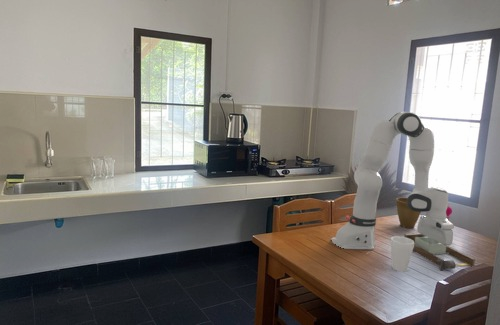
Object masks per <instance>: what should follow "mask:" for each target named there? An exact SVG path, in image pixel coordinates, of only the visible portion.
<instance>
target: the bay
mask: <svg viewBox="0 0 500 325" xmlns="http://www.w3.org/2000/svg"><path fill="white" fill-rule="evenodd" d="M403 237H406V238H409V239H411V240H413V241H414V248H413V251H412V252H414V253H416V254H418V255H419V256H421V257H423V258H425V259H427V261H430V262H432V263H433V264H435V265H437V266H439V267H440V268H439V270H440V271H444V270H453V269H456V267H464V266H473V267H474V266H475V262H476V259H475V258H474V257H472V256H470V255H468V254H465V253H463V252H462V251H458V250H457V249H455V248H453V247H451V246H450V245H446V252H445V254H448V255H450V256H453V257H454V258H457V259H459V260H460V261H462V263H456V262H455V261H454V260H453V259H450V260H444V259H442V258H440V257H439V256H436V254H434V255H433V254H431V253H429V252H428V251H426V250H424V249H422V248H420V247H418V246H417V245H415V237H427V236H424V235H422V234H420V233H405V234H404V236H403Z"/></svg>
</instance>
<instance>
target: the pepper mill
mask: <svg viewBox="0 0 500 325" xmlns="http://www.w3.org/2000/svg"><path fill="white" fill-rule="evenodd" d="M452 213H453V208H452V207H451V206H449V205H448V207H447V210H446V218H447V219H448V220H449V221H450V218H451V215H452Z"/></svg>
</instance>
